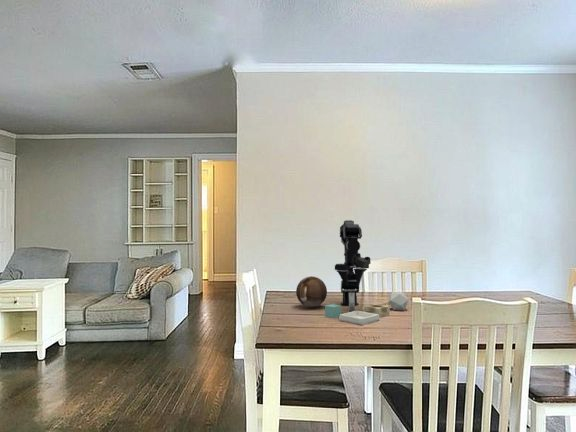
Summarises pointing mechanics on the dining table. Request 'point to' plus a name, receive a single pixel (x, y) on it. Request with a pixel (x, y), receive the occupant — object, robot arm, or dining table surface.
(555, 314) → the dining table surface
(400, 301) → the die
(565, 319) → the dining table surface
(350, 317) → the tray
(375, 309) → the hollow square frame
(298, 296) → the wooden sphere
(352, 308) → the rod
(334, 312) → the block
